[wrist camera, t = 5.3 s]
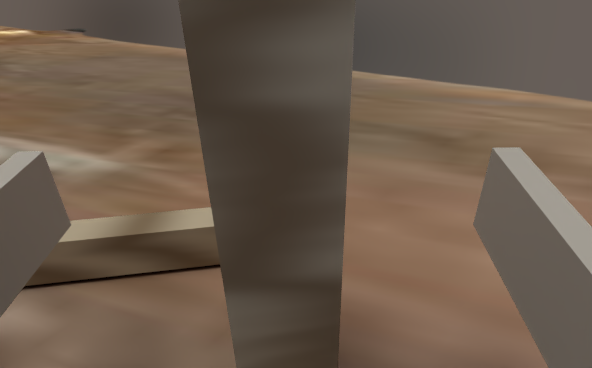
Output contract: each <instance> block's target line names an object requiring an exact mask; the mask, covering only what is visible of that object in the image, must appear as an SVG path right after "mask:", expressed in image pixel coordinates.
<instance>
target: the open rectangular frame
mask: <svg viewBox="0 0 592 368" xmlns="http://www.w3.org/2000/svg"><path fill="white" fill-rule="evenodd" d="M355 1H356V0H178V2H179V8H180V14H181V21H182V27H183V33H184V39H185V46H186V52H187V58H188V65H189V71H190V77H191V84H192V90H193V96H194V102H195V109H196V115H197V121H198V128H199V134H200V140H201V146H202V153H203V159H204V165H205V172H206V178H207V184H208V190H209V197H210V203H211V207H209V208H199V209H189V210H178V211H168V212H158V213H147V214H137V215H127V216H117V217H106V218H96V219H86V220H75V221H70V223H71V226H70V227H69V229H68V230H67V231H66V233H65V234H64V235H63V237H62V238H61V239H60V240H59V242H58V243H57V244H56V246H55V247H54V248H53V250H52V251H51V252H50V253H49V255H48V256H47V257H46V259H45V260H44V261H43V262H42V264H41V265H40V266H39V268H38V269H37V270H36V272H35V273H34V274H33V275H32V277H31V278H30V279H29V281H28V282H27V283H26V285H25V286H30V285H39V284H48V283H57V282H66V281H75V280H83V279H92V278H101V277H110V276H119V275H128V274H137V273H146V272H155V271H164V270H173V269H182V268H191V267H200V266H209V265H218V264H220V266H221V272H222V278H223V285H224V291H225V297H226V304H227V310H228V316H229V322H230V329H231V335H232V341H233V348H234V354H235V360H236V366H237V368H338V350H339V329H340V309H341V288H342V267H343V247H344V226H345V206H346V185H347V165H348V144H349V124H350V103H351V83H352V62H353V41H354V20H355Z"/></svg>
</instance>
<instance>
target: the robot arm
mask: <svg viewBox="0 0 592 368" xmlns="http://www.w3.org/2000/svg"><path fill="white" fill-rule="evenodd" d="M473 225H474V227H475V229H476V231H477V233H478V235H479V236H480V238H481V240H482V242H483V244H484V246H485V248H486V250H487V252H488V253H489V255H490V257H491V259H492V261H493V263H494V265H495V267H496V269H497V271H498V272H499V274H500V276H501V278H502V280H503V282H504V284H505V286H506V288H507V289H508V291H509V293H510V295H511V297H512V299H513V301H514V303H515V305H516V307H517V308H518V310H519V312H520V314H521V316H522V318H523V320H524V322H525V324H526V326H527V327H528V329H529V331H530V333H531V335H532V337H533V339H534V341H535V343H536V344H537V346H538V348H539V350H540V352H541V354H542V356H543V358H544V360H545V362H546V363H547V365H548V367H549V368H592V227H591V226H590V225H589V224H588V223H587V221H586V220H585V219H584V218H583V217H582V216H581V215H580V214H579V213H578V211H577V210H576V209H575V208H574V207H573V206H572V205H571V204H570V203H569V201H568V200H567V199H566V198H565V197H564V196H563V195H562V194H561V193H560V191H559V190H558V189H557V188H556V187H555V186H554V185H553V184H552V183H551V182H550V180H549V179H548V178H547V177H546V176H545V175H544V174H543V173H542V172H541V170H540V169H539V168H538V167H537V166H536V165H535V164H534V163H533V162H532V160H531V159H530V158H529V157H528V156H527V155H526V154H525V153H524V152H523V151H522V149H521V148H492V152H491V156H490V160H489V164H488V168H487V172H486V176H485V180H484V184H483V188H482V192H481V196H480V200H479V204H478V208H477V212H476V216H475V220H474V224H473ZM70 226H71V223H70V220H69V218H68V215H67V213H66V210H65V207H64V205H63V202H62V200H61V197H60V194H59V192H58V189H57V187H56V184H55V182H54V179H53V176H52V174H51V171H50V169H49V166H48V163H47V161H46V158H45V156H44V153H43V151H20V152H16V153H15V154H14V155H13V156H11V157H10V158H9V159H8V160H7V161H5V162H4V163H3V164H2V165H0V317H1V316H2V314H3V313H4V312H5V311H6V309H7V308H8V307H9V305H10V304H11V303H12V301H13V300H14V299H15V298H16V296H17V295H18V294H19V292H20V291H21V290H22V288H23V287H24V286H25V285H26V283H27V282H28V281H29V279H30V278H31V277H32V275H33V274H34V273H35V272H36V270H37V269H38V268H39V266H40V265H41V264H42V262H43V261H44V260H45V259H46V257H47V256H48V255H49V253H50V252H51V251H52V250H53V248H54V247H55V246H56V244H57V243H58V242H59V240H60V239H61V238H62V237H63V235H64V234H65V233H66V231H67V230H68V229H69V227H70Z"/></svg>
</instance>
